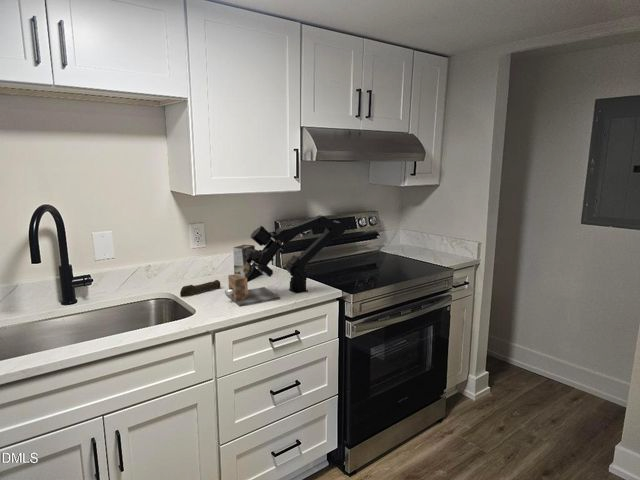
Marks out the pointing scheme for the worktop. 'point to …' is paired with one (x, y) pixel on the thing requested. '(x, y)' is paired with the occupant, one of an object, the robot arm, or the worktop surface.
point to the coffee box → (241, 260)
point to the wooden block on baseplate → (253, 294)
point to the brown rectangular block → (228, 292)
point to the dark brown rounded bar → (199, 288)
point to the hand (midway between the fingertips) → (245, 281)
